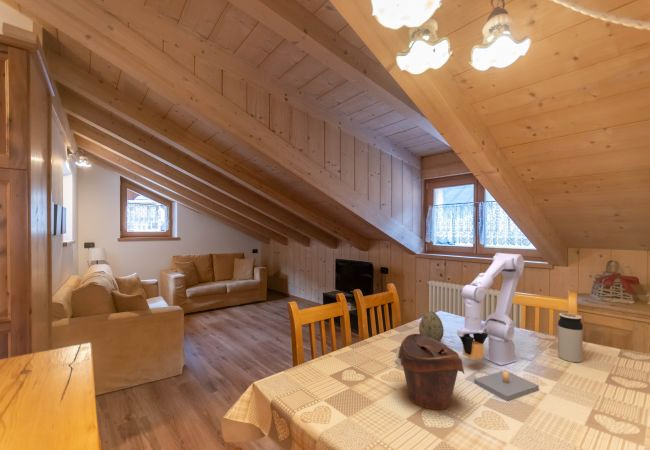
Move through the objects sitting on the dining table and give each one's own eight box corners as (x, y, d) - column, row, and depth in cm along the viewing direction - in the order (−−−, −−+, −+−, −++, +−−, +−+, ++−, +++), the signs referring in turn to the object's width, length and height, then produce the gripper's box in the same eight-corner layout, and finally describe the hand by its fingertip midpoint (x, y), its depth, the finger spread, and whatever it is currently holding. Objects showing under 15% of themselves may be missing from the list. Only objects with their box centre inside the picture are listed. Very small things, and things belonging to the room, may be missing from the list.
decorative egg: (416, 345, 142) (416, 312, 142) (422, 338, 152) (422, 307, 152) (440, 350, 137) (440, 316, 137) (445, 342, 146) (445, 310, 146)
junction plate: (504, 374, 115) (504, 360, 115) (538, 390, 104) (538, 375, 104) (474, 383, 108) (474, 368, 108) (507, 401, 97) (507, 385, 97)
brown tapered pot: (459, 424, 85) (459, 358, 85) (389, 402, 96) (390, 344, 96) (468, 395, 100) (468, 339, 101) (407, 379, 111) (407, 329, 111)
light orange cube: (472, 352, 122) (472, 339, 122) (483, 357, 118) (483, 344, 118) (462, 354, 120) (463, 341, 120) (474, 359, 116) (474, 346, 116)
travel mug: (561, 360, 127) (561, 316, 127) (555, 353, 134) (555, 311, 134) (585, 364, 124) (586, 319, 124) (578, 356, 131) (578, 313, 131)
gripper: (468, 322, 112) (468, 359, 112) (495, 317, 118) (495, 352, 118) (452, 316, 119) (452, 352, 119) (479, 312, 125) (479, 346, 125)
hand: (473, 352), depth 119 cm, fingers closed on light orange cube, 5 cm apart
